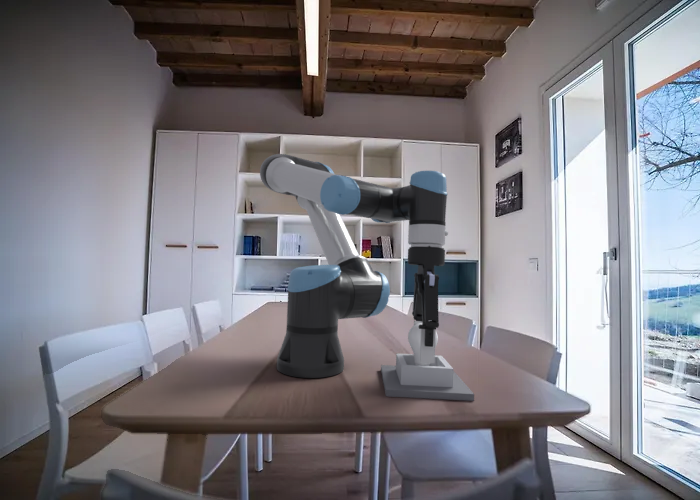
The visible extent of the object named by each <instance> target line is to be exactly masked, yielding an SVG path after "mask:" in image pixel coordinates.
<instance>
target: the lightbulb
mask: <svg viewBox="0 0 700 500" xmlns="http://www.w3.org/2000/svg"><path fill="white" fill-rule="evenodd" d="M419 325H422V323H419V324H416V325H414V324H413V326H412V327H411V328H410V329H409V332H408V334H407V341H408V344H409V346H410V348H411V350H412V352H413V353H412V354H414V358H415V364H416V365H420V366H429V365H430V363H420V341H421V329H419ZM438 341H439V337H438V333H437V331H436V335H435V348H437V344H438Z"/></svg>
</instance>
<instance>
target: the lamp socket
mask: <svg viewBox="0 0 700 500" xmlns="http://www.w3.org/2000/svg"><path fill="white" fill-rule="evenodd" d="M380 373H381V378H382V384H383V388H384V393H385V397H391V398H392V397H395V398H413V399H414V398H415V399H432V400H433V399H434V400H451V401H453V400H454V401H470V402H472V401H473V402H474V401H475V393H474V392H473V391H472V390H471V389H470V387H469V386H468V385H467V384H466V383H465V382H464V381H463V379H462V378H461V377H460V376H459V375H458V374H457V373H456V372H455V371H454V368H453V366H451V364H450V363H449V362H448V361H447V360H446V358H444V357H443V355H437V354H435V364H434V363H430V365H429V366H420V365H416V364H415V358H414V353H396V354H395V365H388V364H381V365H380Z"/></svg>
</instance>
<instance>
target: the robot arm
mask: <svg viewBox="0 0 700 500" xmlns="http://www.w3.org/2000/svg"><path fill="white" fill-rule="evenodd" d="M259 176H260V180H261V183H262V184H263V185H264V186H265V188H267V189H268V190H270V191H272V192H275V193H278V194H280V195H281V194H282V195H287V196H292V197H295V199H296V202H297V204H298V206H299V207H300V208H301V209H303V210H306V213H307V215H308V218H309V220H310V223H311V226H312V228H313V230H314V232H315V234H316V238H317V239H318V243H319V244H320V247H321V249H322V251H323V254H324V256H325V258H326V259H325V260H326V262H327V264H319V265H318V264H317V265H314V264H313V265H306V266H305V265H304V266H299V267H295V268H294V269H292V270H291V271H290V273H289V275H288V276H289V278H288V283H287V288H286V290H287V307H286V308H287V309H286V311H287V312H286V331H285V336H284V339H283V341H282V343H281V346H280V350H279V352H278V355H277V358H276V369H277V371H278V372H279V373H281V374H284V375H286V376H290V377H295V378H304V379H305V378H306V379H314V378H315V379H317V378H318V379H319V378H326V377H332V376H333V377H334V376H336V375H338V374H341V373H343V371H344V368H345V358H344V354H343V350H342V347H341V346H342V345H341V343H340V339H339V334H338V332H339V331H338V327H339V320H347V319H358V318H365V319H366V318H369V317H375V316H378V315H379V314H381V313H382V312H383V311H384V310H385V308H386V307H387V305H388V302H389V298H390V294H391V292H390V291H391V287H390V282H389V280H388V278H387V277H386V275H385V274H384V273H382V272H380V271H378V270H373V268H372V265H371V264H370V262H369V260H368V258H367V257H365V256H361V255H360V254H359V252H358V249H357V248H356V246H355V243H354V241H353V239H352V237H351V235H350V232H349V231H348V230H349V229H348V228H347V227H346V224H345V222H344V220H343V218H342V215H346V216H354V217H361V218H366V219H371V220H372V221H373V222H375V223H383V224H384V223H385V224H390V223H393V222H402V221H403V222H405V221H408V235H407V236H408V238H407V244H408V245H410V247H409V248H408V249H407V264H408V265H410V266H417V267H418V268H417V272H415V273H414V274H413V277H414V285H413V286H414V287H413V301H412V303H413V304H412V312H411V314H412V317H413V326H414V325H416V324H419V323H422V325H419V329H421V341H420V363H434V364H435V355H436V347H435V335H436V332H437V328H439V326H440V322H439V280H440V277H439V274H436V273H435V267H443V266H444V265H445V264H446V263H445V262H446V249H445V248H444V247H443V246H445V244H446V237H448V235H449V231H446V215H447V214H446V213H447V199H448V192H447V190H448V189H447V188H448V187H447V176H446V175H445V174H444V173H443V172H441V171H437V170H419V171H415V172H414V173H412V174H411V176H410V180H409V185H406V186H400V187H389V186H385V185H380V184H377V183H373V182H367V181H363V180H360V179H357V178H352V177H350V176H346V175H340V174H336V173H335V172H334V171H333V169H332V168H331V167H330V166H329V165H327V164H324V163H323V162H322V163H321V162H319V161H313V160H309V159H305V158H301V157H298V156H295V155H294V156H293V155H290V154H284V153H277V154H276V153H275V154H272V155H270V156H268V157H266V158H265V159H264V161H262V163H261V165H260V169H259Z"/></svg>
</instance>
